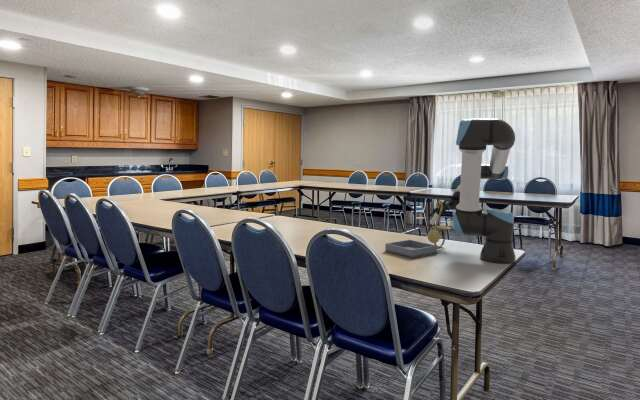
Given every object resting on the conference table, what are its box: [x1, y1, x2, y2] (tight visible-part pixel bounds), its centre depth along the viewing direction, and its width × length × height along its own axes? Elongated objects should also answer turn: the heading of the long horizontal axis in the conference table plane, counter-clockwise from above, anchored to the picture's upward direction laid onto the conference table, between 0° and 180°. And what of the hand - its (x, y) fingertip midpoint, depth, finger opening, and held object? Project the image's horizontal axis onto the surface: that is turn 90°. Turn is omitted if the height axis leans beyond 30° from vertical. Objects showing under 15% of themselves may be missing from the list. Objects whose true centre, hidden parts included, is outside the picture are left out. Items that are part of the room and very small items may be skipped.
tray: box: [384, 239, 438, 259], centre depth 210 cm, size 17×18×4 cm
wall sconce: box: [426, 199, 452, 249], centre depth 220 cm, size 14×10×25 cm
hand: (441, 225), depth 222 cm, fingers open, 13 cm apart
